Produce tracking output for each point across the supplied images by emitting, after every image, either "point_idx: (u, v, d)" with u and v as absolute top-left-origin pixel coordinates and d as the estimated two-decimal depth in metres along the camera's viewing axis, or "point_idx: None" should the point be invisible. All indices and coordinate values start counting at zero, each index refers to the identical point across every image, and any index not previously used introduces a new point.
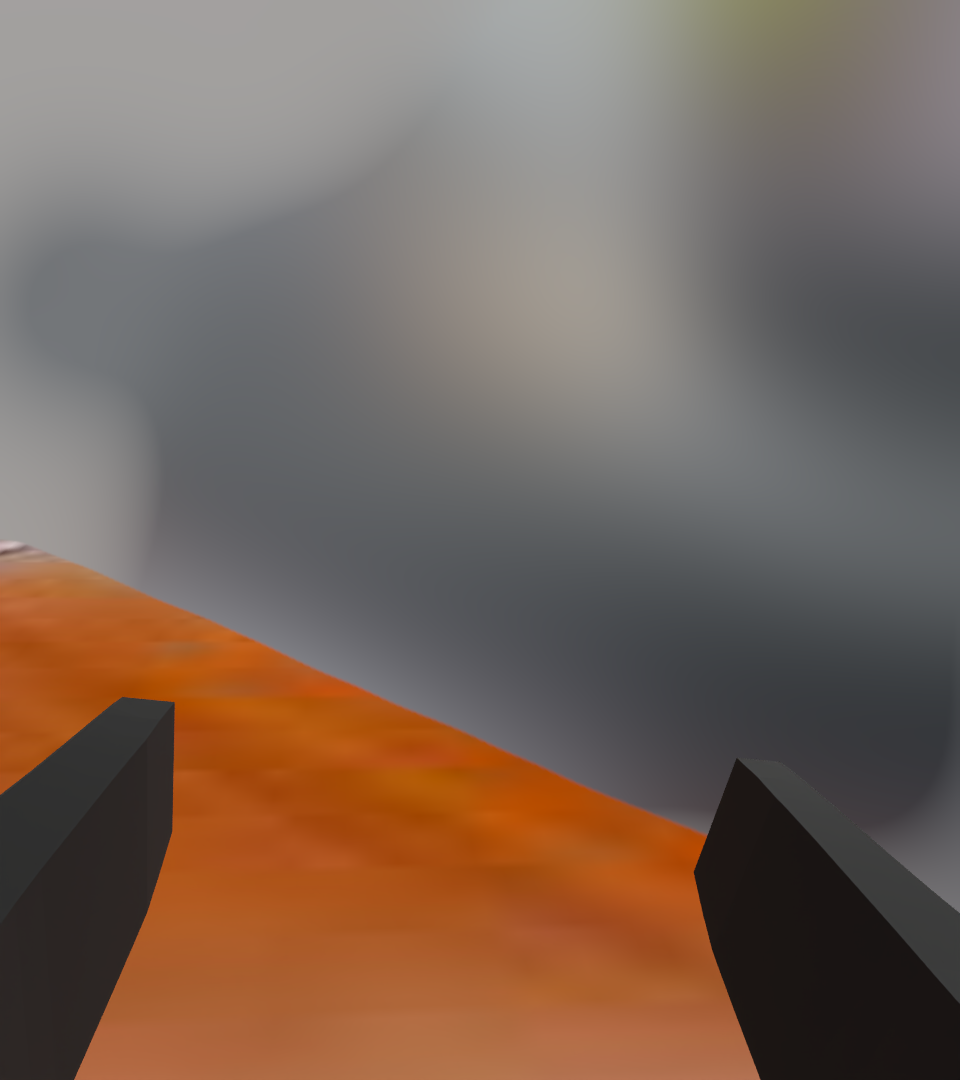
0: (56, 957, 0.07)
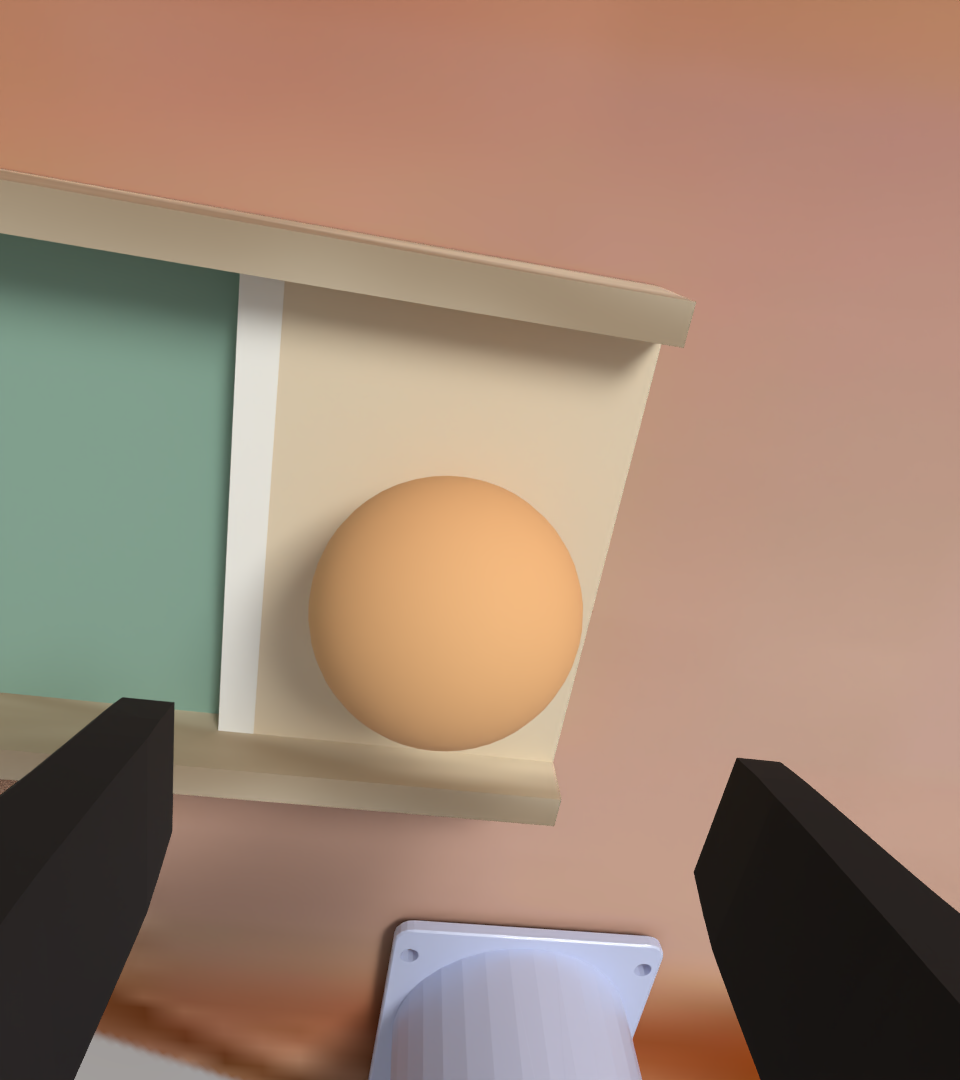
0: (56, 957, 0.07)
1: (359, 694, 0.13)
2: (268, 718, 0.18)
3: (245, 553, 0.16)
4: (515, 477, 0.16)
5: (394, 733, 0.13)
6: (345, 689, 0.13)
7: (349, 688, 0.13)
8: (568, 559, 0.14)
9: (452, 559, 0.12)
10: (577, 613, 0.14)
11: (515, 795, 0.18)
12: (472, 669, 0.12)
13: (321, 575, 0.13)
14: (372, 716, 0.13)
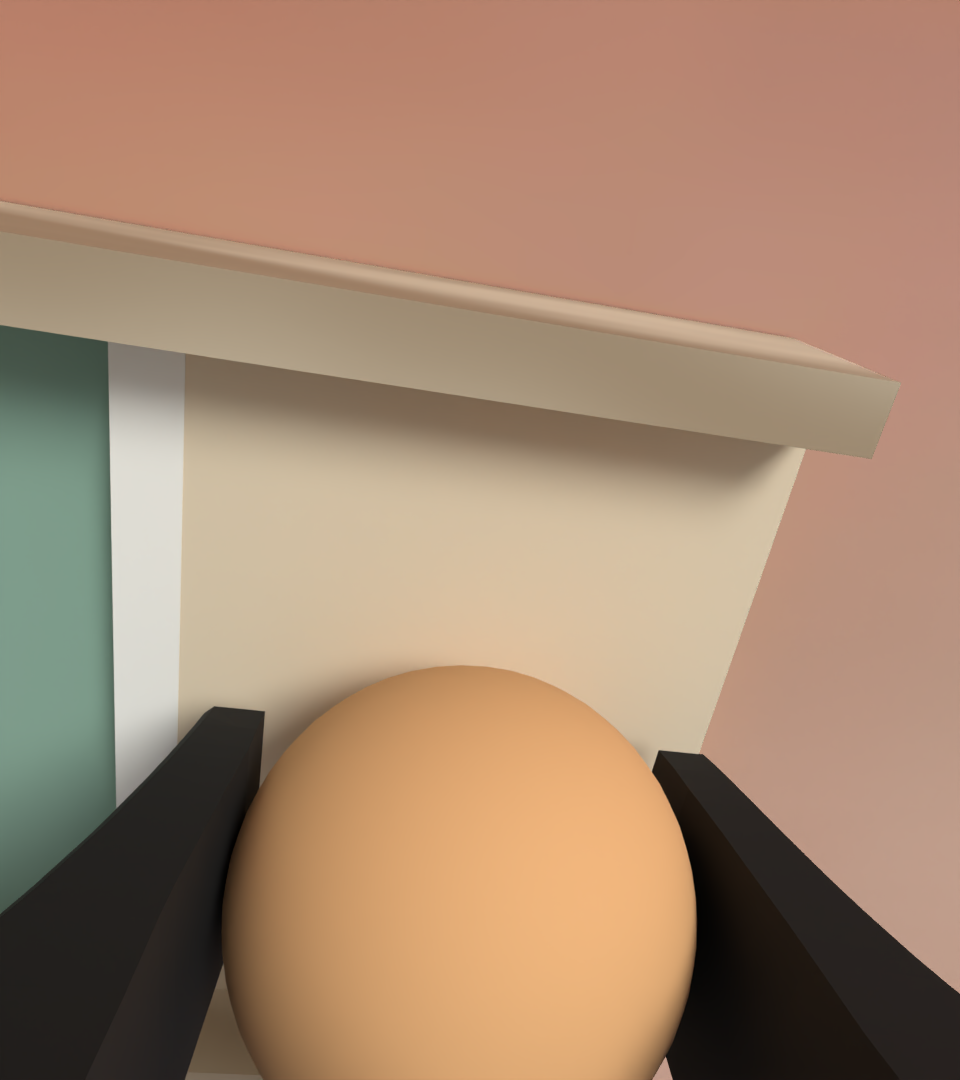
0: (180, 964, 0.07)
1: None
2: None
3: (145, 752, 0.11)
4: (567, 639, 0.10)
5: None
6: None
7: None
8: (675, 833, 0.08)
9: (477, 898, 0.06)
10: (694, 936, 0.08)
11: None
12: None
13: (238, 877, 0.07)
14: None
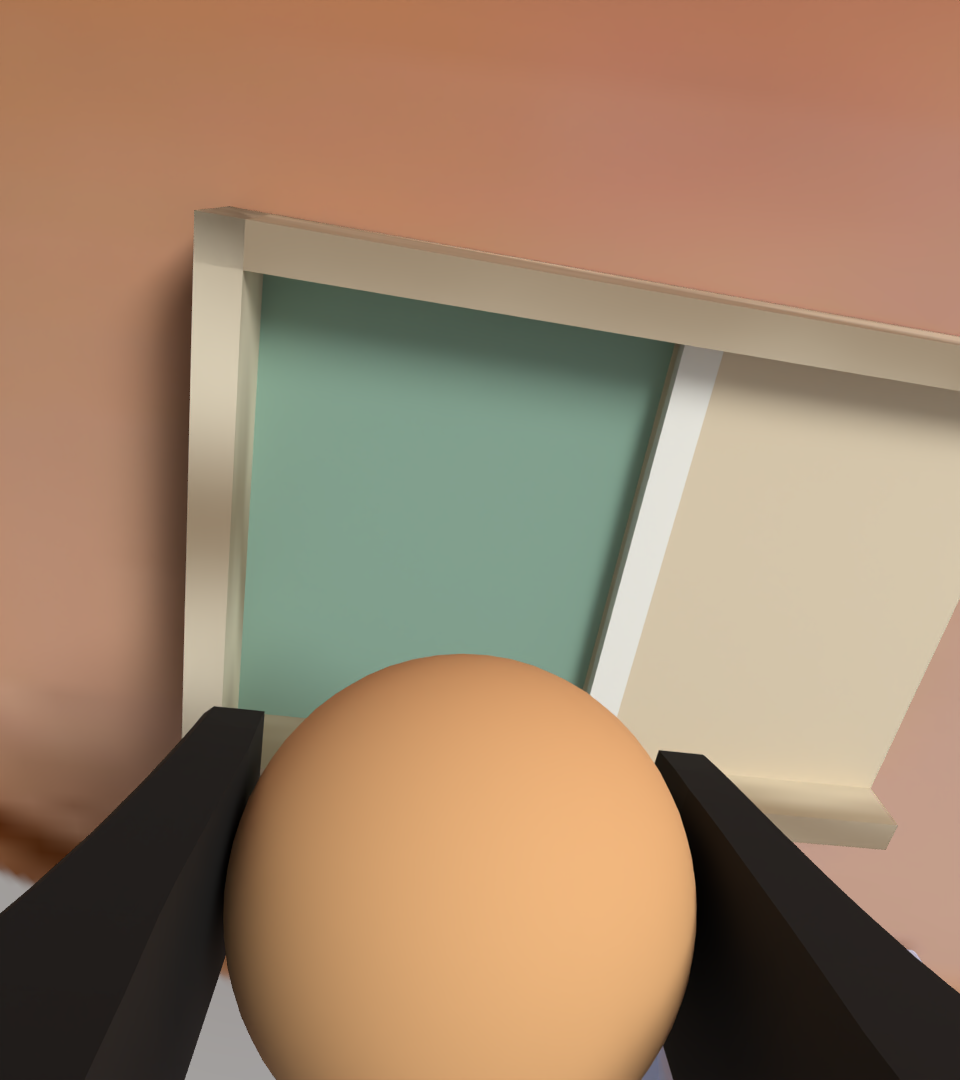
0: (180, 964, 0.07)
1: None
2: None
3: (633, 597, 0.18)
4: (892, 527, 0.17)
5: None
6: None
7: None
8: (675, 819, 0.08)
9: (477, 880, 0.06)
10: (693, 921, 0.08)
11: (857, 821, 0.19)
12: None
13: (240, 862, 0.07)
14: None
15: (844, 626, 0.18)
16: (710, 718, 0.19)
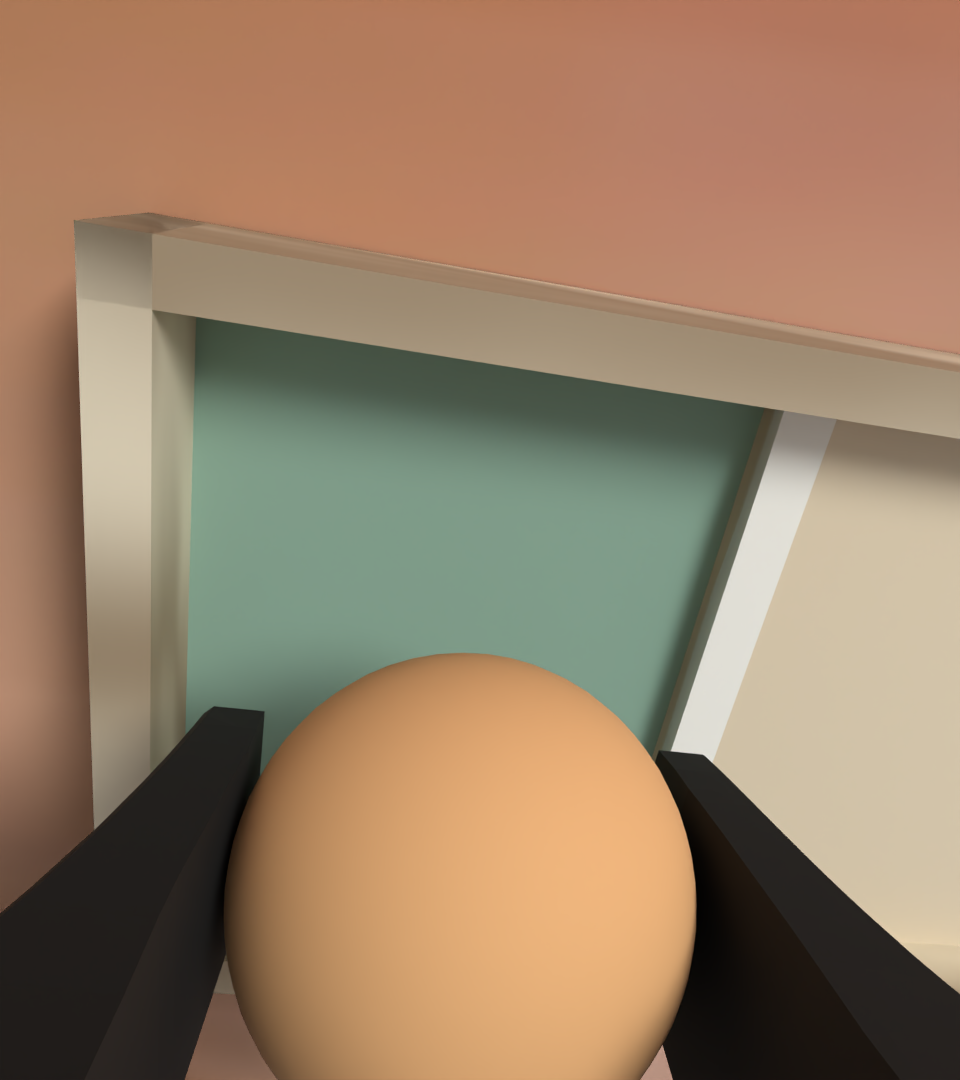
0: (180, 964, 0.07)
1: None
2: None
3: (700, 729, 0.13)
4: None
5: None
6: None
7: None
8: (674, 817, 0.08)
9: (477, 878, 0.06)
10: (693, 919, 0.08)
11: None
12: None
13: (240, 861, 0.07)
14: None
15: None
16: None
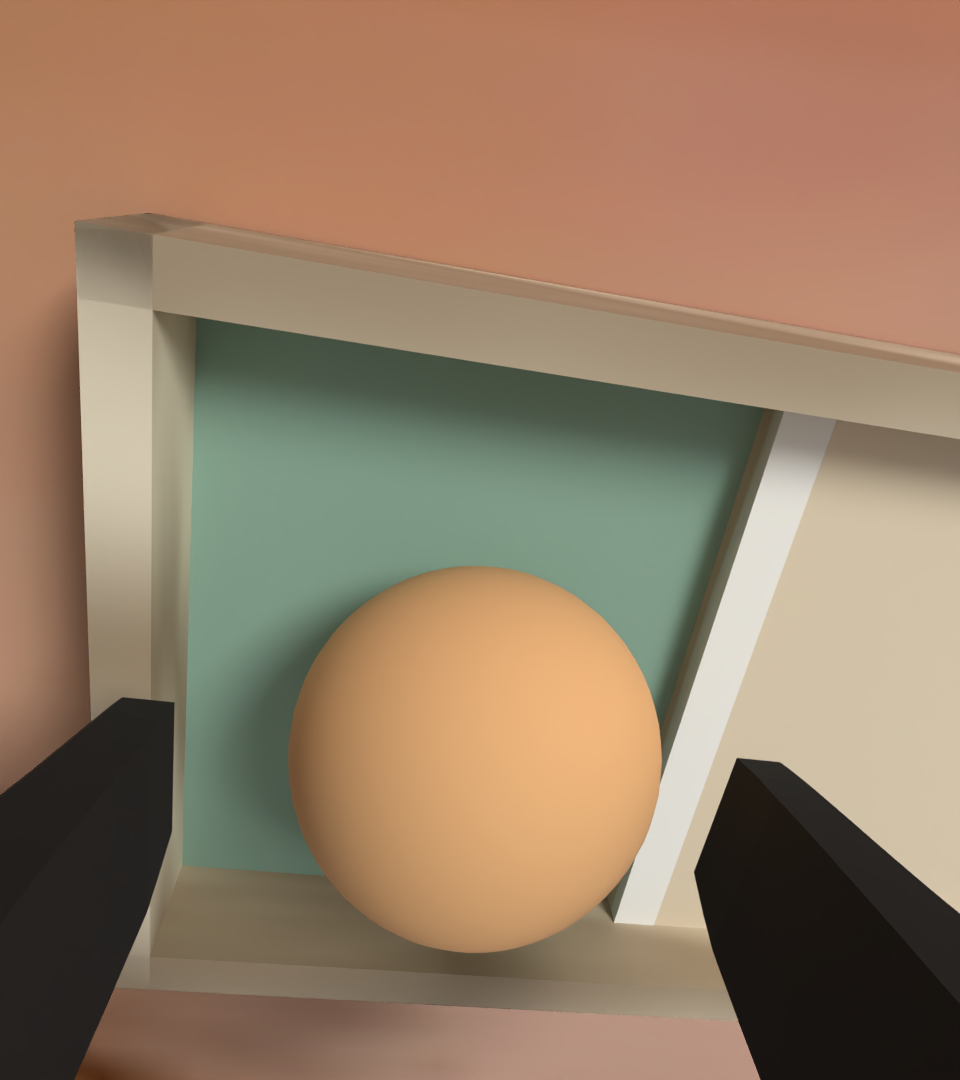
0: (56, 957, 0.07)
1: (380, 905, 0.09)
2: (675, 908, 0.15)
3: (700, 729, 0.13)
4: None
5: (428, 945, 0.09)
6: (356, 893, 0.09)
7: (365, 895, 0.09)
8: (642, 675, 0.10)
9: (510, 712, 0.09)
10: (660, 749, 0.10)
11: None
12: (548, 867, 0.09)
13: (310, 731, 0.09)
14: (398, 928, 0.09)
15: None
16: None
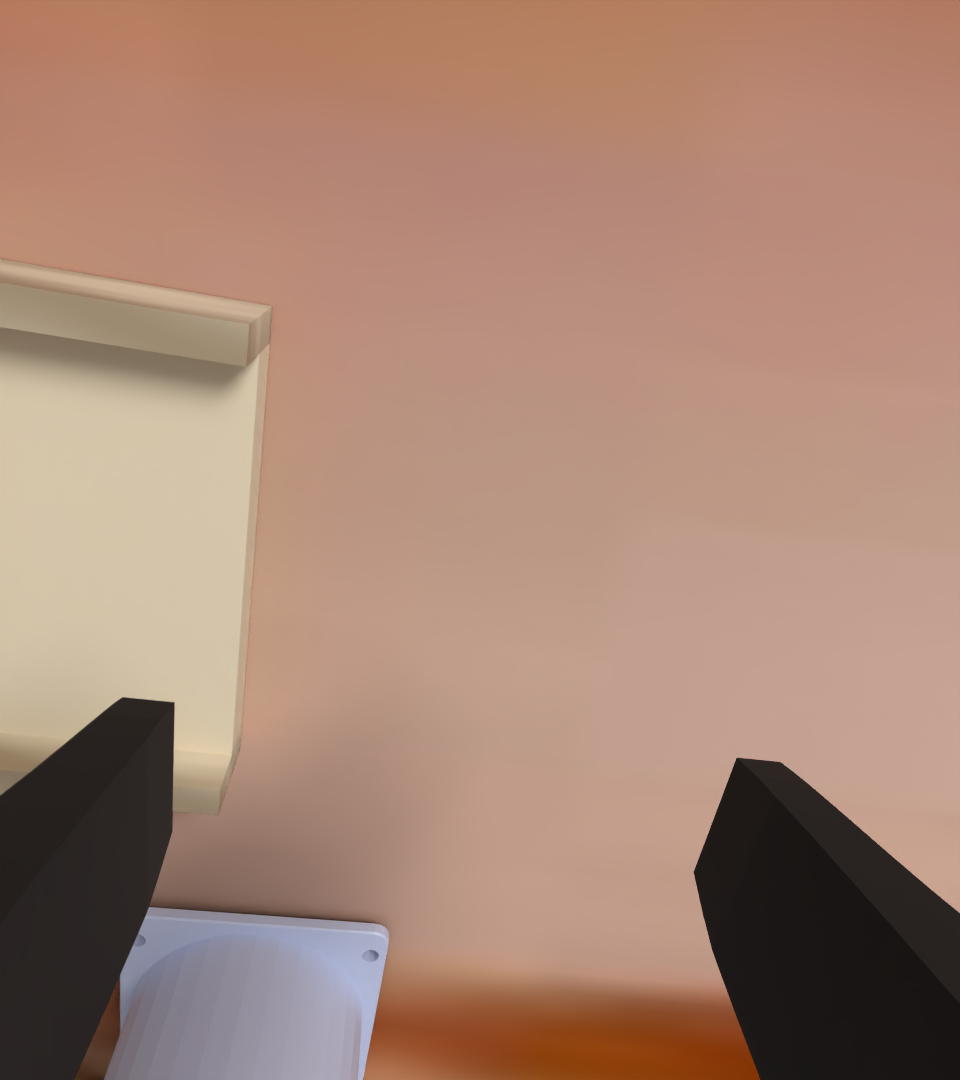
0: (56, 957, 0.07)
1: None
2: None
3: None
4: (142, 485, 0.17)
5: None
6: None
7: None
8: None
9: None
10: None
11: (174, 785, 0.19)
12: None
13: None
14: None
15: (132, 586, 0.18)
16: (28, 680, 0.19)
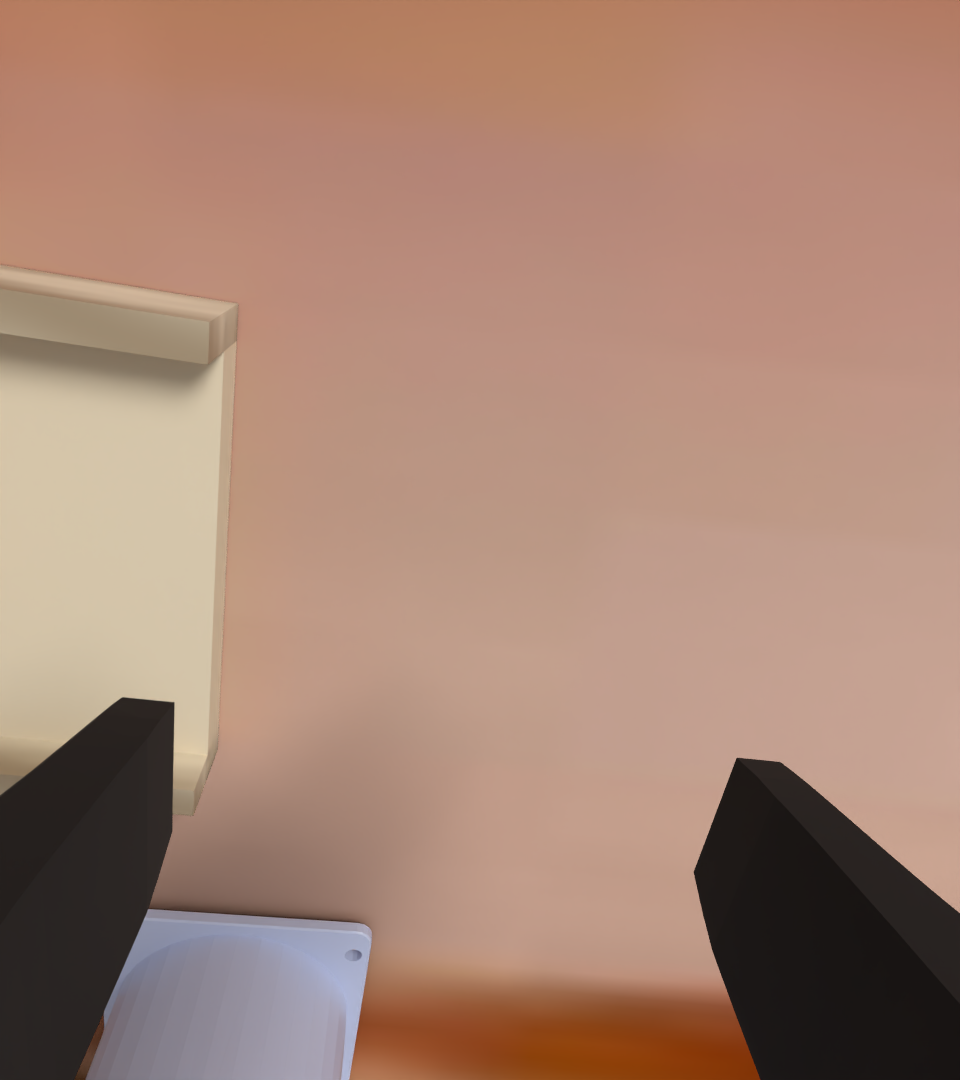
0: (56, 957, 0.07)
1: None
2: None
3: None
4: (109, 485, 0.17)
5: None
6: None
7: None
8: None
9: None
10: None
11: None
12: None
13: None
14: None
15: (102, 586, 0.18)
16: (1, 682, 0.19)
